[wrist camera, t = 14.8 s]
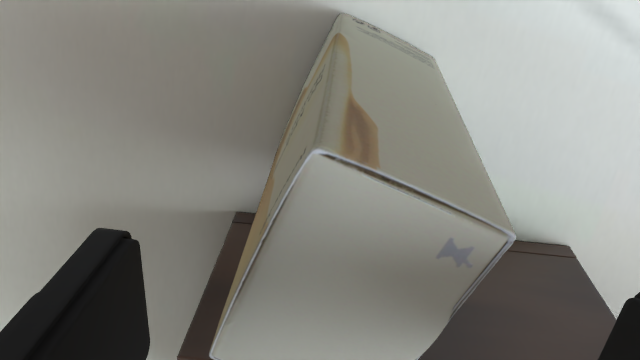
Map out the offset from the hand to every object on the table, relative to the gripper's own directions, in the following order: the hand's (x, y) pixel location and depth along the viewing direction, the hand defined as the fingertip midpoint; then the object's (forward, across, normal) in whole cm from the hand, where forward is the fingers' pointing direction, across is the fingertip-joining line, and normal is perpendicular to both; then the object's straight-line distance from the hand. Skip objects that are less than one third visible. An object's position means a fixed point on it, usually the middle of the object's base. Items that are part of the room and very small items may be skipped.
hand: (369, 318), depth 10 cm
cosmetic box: (+13, +1, 0) cm, 13 cm away
